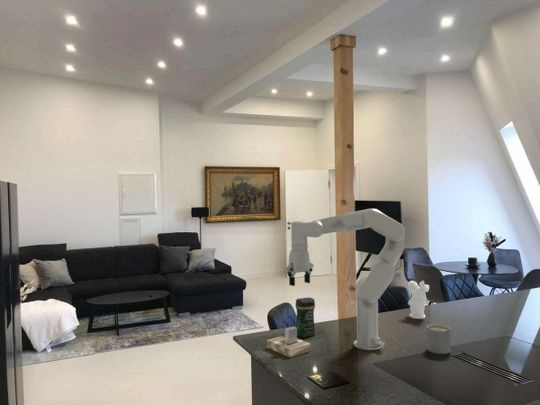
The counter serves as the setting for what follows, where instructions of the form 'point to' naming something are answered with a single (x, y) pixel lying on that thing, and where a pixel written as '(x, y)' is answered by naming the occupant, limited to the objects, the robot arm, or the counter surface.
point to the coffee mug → (438, 339)
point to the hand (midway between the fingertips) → (299, 284)
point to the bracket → (290, 336)
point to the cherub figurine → (417, 299)
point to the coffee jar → (305, 317)
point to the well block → (286, 350)
